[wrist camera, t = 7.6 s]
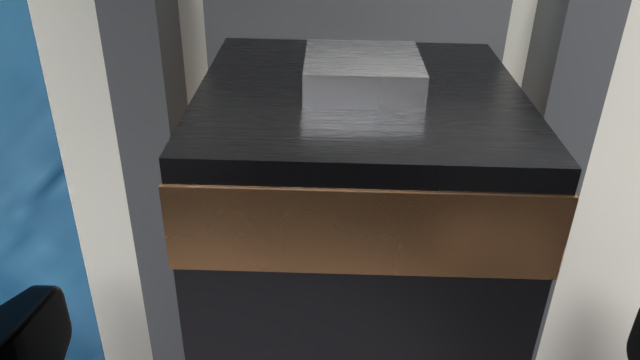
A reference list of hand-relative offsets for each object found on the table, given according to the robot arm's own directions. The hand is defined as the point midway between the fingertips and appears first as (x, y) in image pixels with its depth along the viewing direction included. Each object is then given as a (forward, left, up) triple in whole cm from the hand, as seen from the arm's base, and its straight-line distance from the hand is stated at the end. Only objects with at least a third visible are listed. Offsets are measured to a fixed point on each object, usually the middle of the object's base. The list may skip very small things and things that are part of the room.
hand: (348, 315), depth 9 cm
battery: (0, 0, -2) cm, 2 cm away
